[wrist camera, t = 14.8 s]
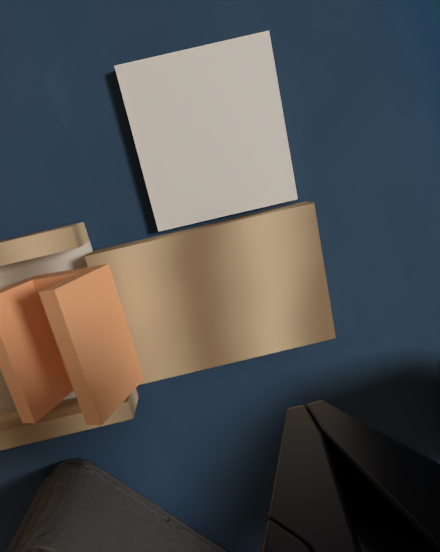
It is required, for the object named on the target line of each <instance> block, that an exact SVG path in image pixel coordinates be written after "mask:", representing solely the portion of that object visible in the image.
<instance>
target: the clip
mask: <svg viewBox="0 0 440 552" xmlns="http://www.w3.org/2000/svg"><path fill="white" fill-rule="evenodd" d="M0 369H1V372H2V374H3V377H4V379H5V382H6V384H7V387H8V389H9V391H10V394H11V396H12V399H13V401H14V404H15V406H16V409H17V411H18V413H19V416H20V418H21V421H22V423H36V422H38V421H39V420H40V419H41V418H42V417H43V416H44V415H46V414H47V413H48V412H49V411H50V410H51V409H52V408H54V407H55V406H56V405H57V404H58V403H59V402H61V401H62V400H63V399H64V398H65V397H66V396H67V395H69V394H70V393H71V392H72V391H74V392H75V395H76V397H77V400H78V403H79V406H80V408H81V411H82V414H83V417H84V420H85V422H86V425H103V423H104V422H105V421H106V420H107V419H108V418H109V417H110V416H111V415H112V414H113V412H114V411H115V410H116V409H117V408H118V407H119V406H120V405H121V404H122V403H123V401H124V400H125V399H126V398H127V397H128V396H129V395H130V394H131V393H132V392H133V390H134V389H135V388H136V387H137V386H138V385H139V384H140V383H141V382H142V381H143V379H144V378H143V374H142V371H141V368H140V365H139V361H138V358H137V355H136V352H135V348H134V345H133V342H132V339H131V335H130V332H129V329H128V326H127V322H126V319H125V316H124V313H123V309H122V306H121V303H120V300H119V296H118V293H117V290H116V287H115V283H114V280H113V277H112V274H111V270H110V267H109V264H104V265H98V266H91V267H85V268H79V269H73V270H67V271H61V272H54V273H48V274H42V275H36V276H33V277H31V278H28V279H26V280H23V281H21V282H18V283H16V284H14V285H11V286H9V287H6V288H4V289H1V290H0Z"/></svg>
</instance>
